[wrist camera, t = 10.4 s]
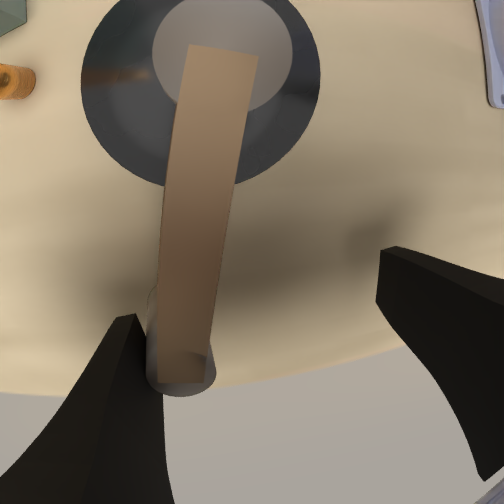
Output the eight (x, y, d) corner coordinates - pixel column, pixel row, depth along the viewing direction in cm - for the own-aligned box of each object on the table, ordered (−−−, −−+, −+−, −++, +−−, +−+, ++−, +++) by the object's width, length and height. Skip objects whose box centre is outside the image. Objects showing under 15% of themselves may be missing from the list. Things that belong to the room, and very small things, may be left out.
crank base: (296, -31, 7) (340, -67, 4) (325, 163, 10) (377, 188, 7) (3, 37, 5) (-46, 22, 3) (48, 232, 9) (13, 280, 6)
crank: (169, 24, 6) (169, -19, 4) (256, 38, 7) (302, 8, 4) (139, 322, 10) (136, 395, 7) (207, 325, 11) (223, 395, 8)
